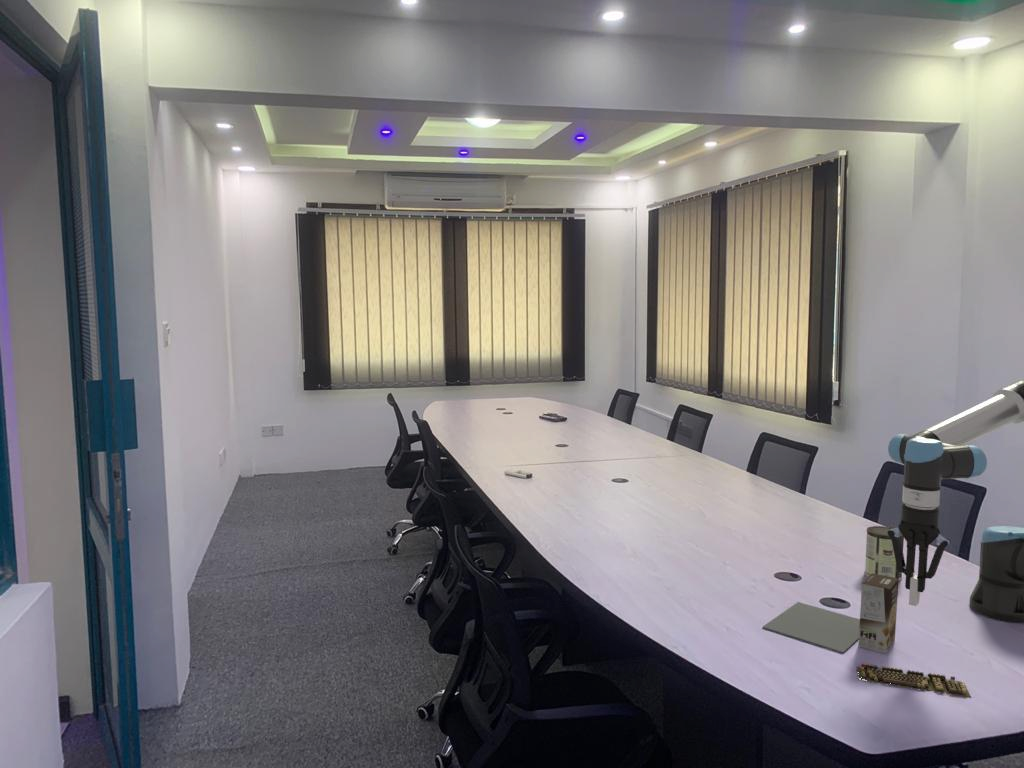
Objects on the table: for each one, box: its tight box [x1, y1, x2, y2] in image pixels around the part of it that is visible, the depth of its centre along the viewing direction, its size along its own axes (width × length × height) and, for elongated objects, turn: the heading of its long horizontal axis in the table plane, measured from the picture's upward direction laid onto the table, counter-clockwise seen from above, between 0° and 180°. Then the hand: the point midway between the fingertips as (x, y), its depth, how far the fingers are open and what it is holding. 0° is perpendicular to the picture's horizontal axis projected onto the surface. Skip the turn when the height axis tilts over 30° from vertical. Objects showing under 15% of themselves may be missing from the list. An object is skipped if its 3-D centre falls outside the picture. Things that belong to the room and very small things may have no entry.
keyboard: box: [855, 663, 972, 699], centre depth 162 cm, size 22×9×2 cm, turn 70°
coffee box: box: [857, 573, 900, 655], centre depth 179 cm, size 9×6×16 cm
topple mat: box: [762, 601, 860, 654], centre depth 189 cm, size 20×22×1 cm
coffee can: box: [864, 525, 905, 581], centre depth 224 cm, size 10×10×14 cm
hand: (913, 603), depth 173 cm, fingers closed
